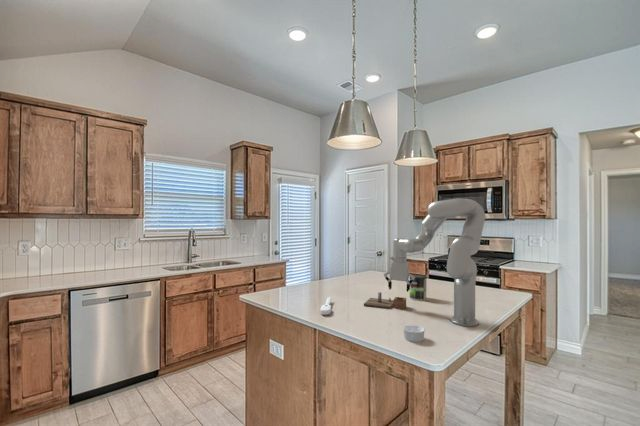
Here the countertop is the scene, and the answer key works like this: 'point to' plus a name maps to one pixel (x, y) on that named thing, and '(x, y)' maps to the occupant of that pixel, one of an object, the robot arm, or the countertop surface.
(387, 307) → the post board
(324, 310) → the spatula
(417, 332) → the ramekin
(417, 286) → the coffee can
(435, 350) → the countertop surface
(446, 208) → the robot arm
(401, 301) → the square wooden collar
